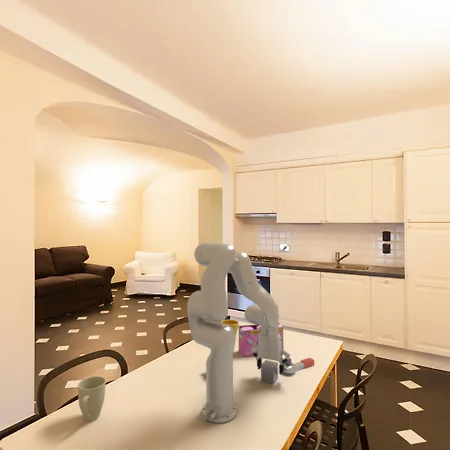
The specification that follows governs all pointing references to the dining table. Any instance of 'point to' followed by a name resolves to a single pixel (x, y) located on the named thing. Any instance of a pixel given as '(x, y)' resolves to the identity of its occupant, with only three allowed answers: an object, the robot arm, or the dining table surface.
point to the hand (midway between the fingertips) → (270, 370)
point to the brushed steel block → (269, 372)
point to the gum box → (251, 338)
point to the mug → (91, 397)
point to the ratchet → (297, 366)
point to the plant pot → (232, 324)
